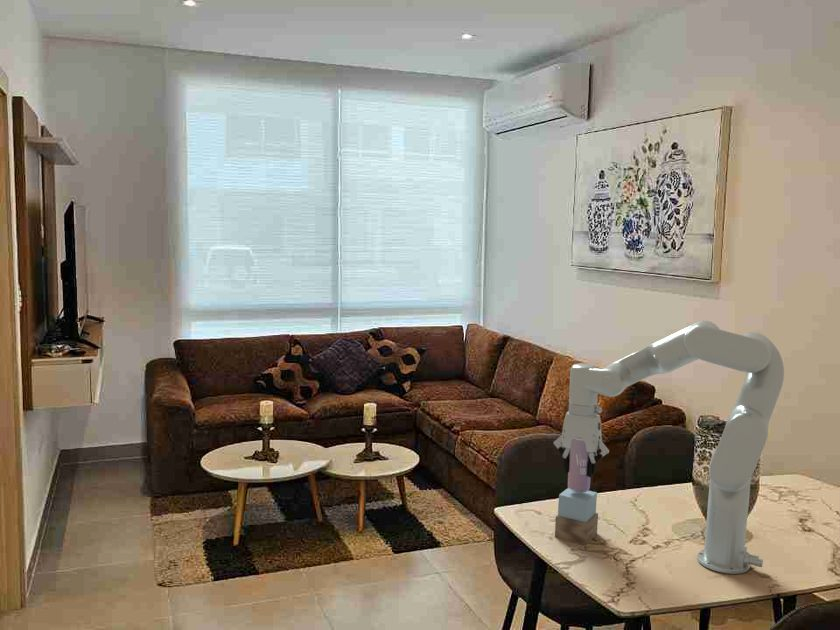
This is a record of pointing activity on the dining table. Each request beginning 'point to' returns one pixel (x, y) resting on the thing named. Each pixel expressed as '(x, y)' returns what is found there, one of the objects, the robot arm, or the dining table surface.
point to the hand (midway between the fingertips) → (579, 473)
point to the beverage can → (578, 466)
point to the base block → (576, 529)
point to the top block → (577, 505)
